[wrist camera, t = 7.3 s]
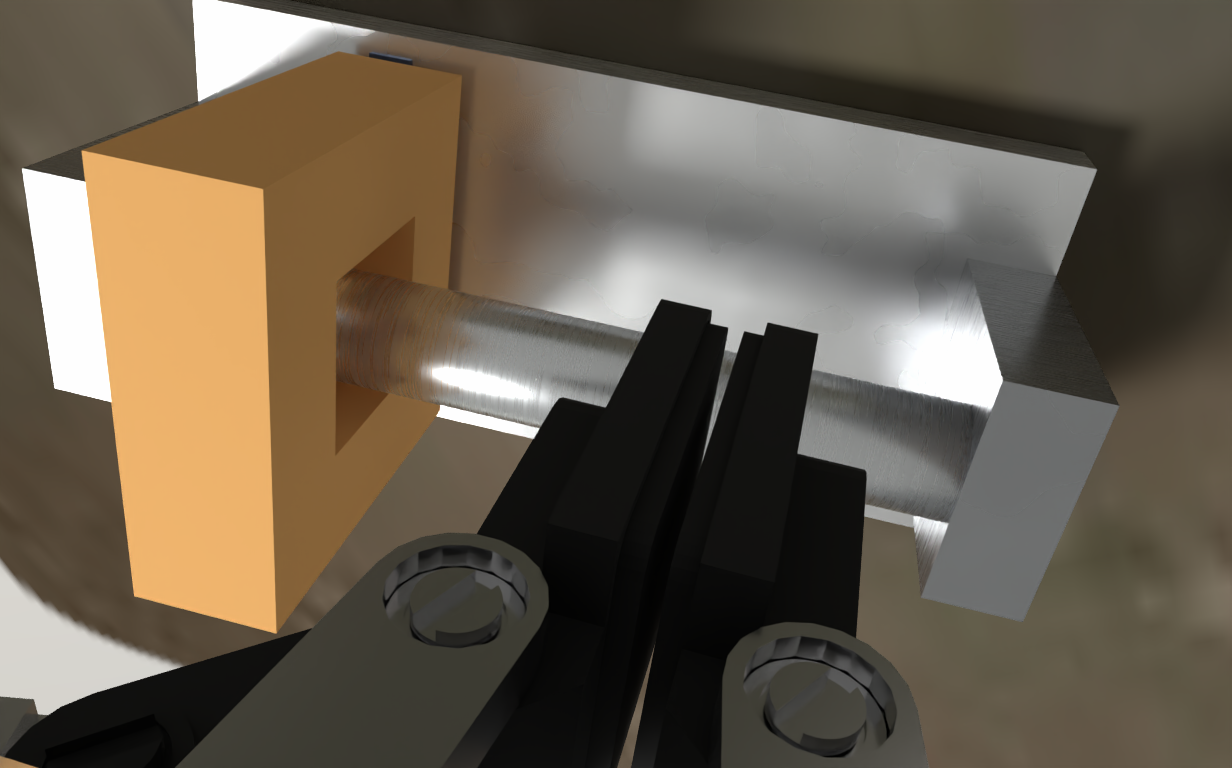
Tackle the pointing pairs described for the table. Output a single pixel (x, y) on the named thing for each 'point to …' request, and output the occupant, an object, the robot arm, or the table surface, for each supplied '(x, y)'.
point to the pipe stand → (702, 273)
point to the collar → (262, 320)
